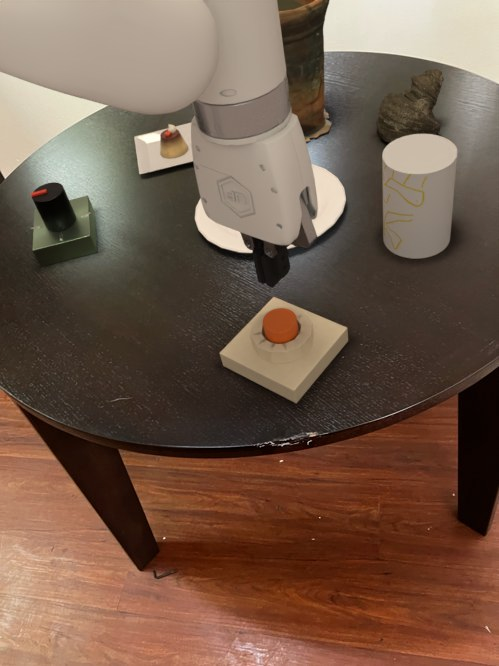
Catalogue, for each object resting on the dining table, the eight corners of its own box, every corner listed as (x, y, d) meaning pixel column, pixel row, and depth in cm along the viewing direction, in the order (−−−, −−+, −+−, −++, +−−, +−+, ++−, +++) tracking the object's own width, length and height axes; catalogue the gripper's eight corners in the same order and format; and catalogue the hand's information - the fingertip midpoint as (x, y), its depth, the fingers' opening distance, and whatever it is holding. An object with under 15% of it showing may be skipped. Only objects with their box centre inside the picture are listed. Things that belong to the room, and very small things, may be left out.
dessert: (141, 180, 100) (132, 153, 97) (135, 142, 109) (127, 116, 105) (216, 161, 101) (210, 134, 97) (205, 125, 109) (199, 98, 106)
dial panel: (99, 251, 90) (91, 233, 87) (38, 267, 89) (29, 250, 87) (96, 211, 96) (89, 193, 94) (40, 225, 96) (31, 208, 94)
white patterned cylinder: (370, 232, 83) (368, 150, 75) (424, 209, 85) (428, 126, 76) (407, 267, 78) (409, 183, 69) (464, 241, 79) (473, 156, 71)
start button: (285, 348, 67) (283, 337, 66) (258, 336, 69) (255, 324, 68) (305, 326, 69) (303, 315, 68) (278, 314, 71) (275, 303, 69)
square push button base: (296, 403, 67) (292, 379, 64) (222, 365, 72) (215, 341, 69) (348, 341, 71) (346, 315, 68) (276, 309, 76) (271, 284, 73)
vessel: (340, 96, 108) (332, -33, 94) (335, 143, 99) (325, 7, 84) (256, 103, 111) (235, -21, 97) (243, 149, 102) (219, 18, 87)
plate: (232, 163, 100) (230, 153, 98) (365, 175, 92) (364, 165, 91) (171, 249, 87) (168, 240, 86) (318, 272, 80) (316, 262, 78)
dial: (75, 208, 92) (61, 176, 89) (77, 225, 89) (63, 194, 86) (45, 217, 92) (30, 185, 88) (46, 234, 89) (30, 203, 85)
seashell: (466, 110, 88) (463, 74, 94) (392, 71, 85) (393, 36, 92) (418, 171, 96) (417, 134, 103) (349, 137, 94) (352, 101, 100)
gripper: (141, 108, 52) (194, 275, 66) (291, 148, 45) (316, 328, 58) (201, 66, 56) (239, 232, 69) (350, 96, 48) (361, 277, 61)
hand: (274, 276), depth 63 cm, fingers closed
